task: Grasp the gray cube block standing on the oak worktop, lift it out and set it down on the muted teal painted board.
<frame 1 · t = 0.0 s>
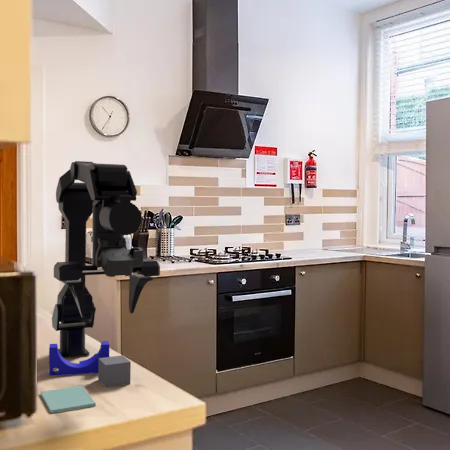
hand: (107, 315, 103), 15 cm above the counter, fingers open, 9 cm apart
blue arched bracket: (79, 372, 116), on the counter
teal board: (67, 399, 99), on the counter
gray cube block: (114, 382, 110), on the counter
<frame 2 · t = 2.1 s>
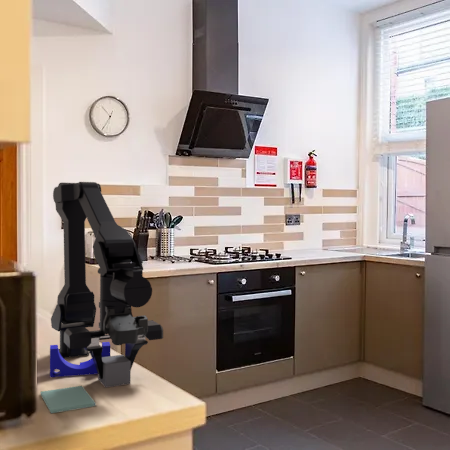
hand: (114, 376, 110), 1 cm above the counter, fingers closed on gray cube block, 5 cm apart
gray cube block: (114, 381, 110), on the counter, touching gripper
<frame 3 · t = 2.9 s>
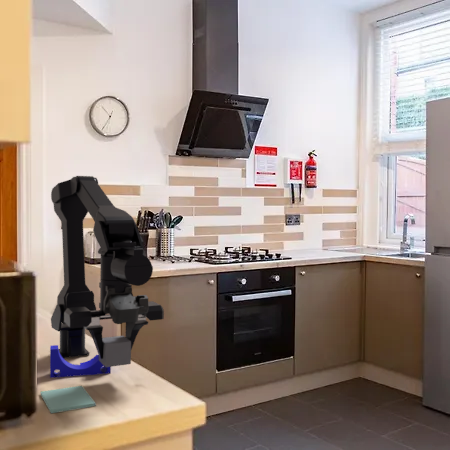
hand: (114, 356, 109), 5 cm above the counter, fingers closed on gray cube block, 5 cm apart
gray cube block: (114, 362, 109), point 4 cm above the counter, touching gripper
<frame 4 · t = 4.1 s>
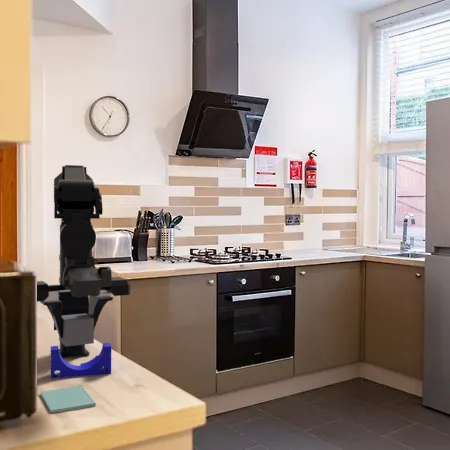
hand: (76, 336, 100), 11 cm above the counter, fingers closed on gray cube block, 5 cm apart
gray cube block: (76, 341, 100), point 10 cm above the counter, touching gripper
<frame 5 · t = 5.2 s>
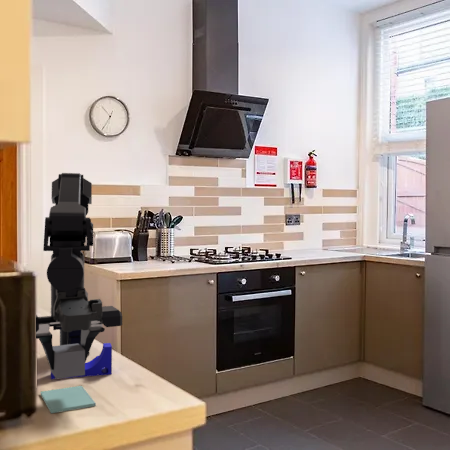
hand: (67, 367, 99), 6 cm above the counter, fingers closed on gray cube block, 5 cm apart
gray cube block: (67, 372, 99), point 5 cm above the counter, touching gripper
when the fingers open (3 cm above the counter, at t = 6.1 s): gray cube block drops 1 cm, resting on teal board.
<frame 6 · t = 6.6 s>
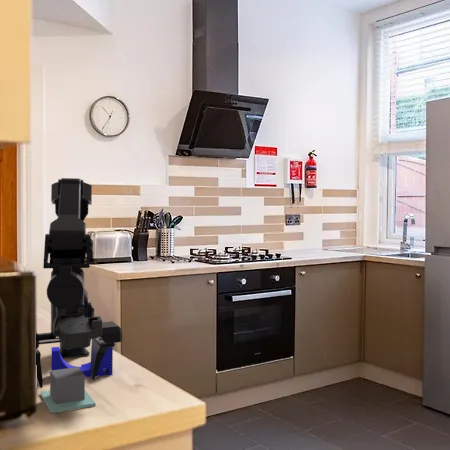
hand: (67, 383, 99), 3 cm above the counter, fingers open, 9 cm apart
gray cube block: (67, 397, 99), resting on teal board
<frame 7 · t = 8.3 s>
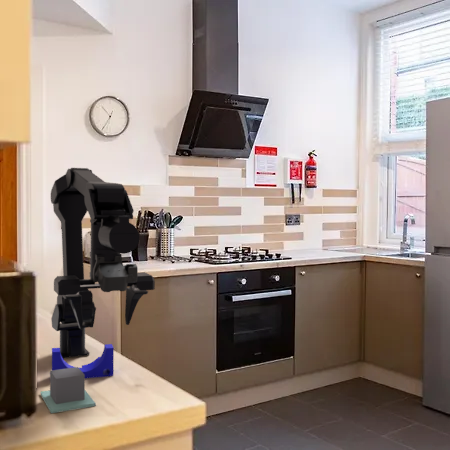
hand: (104, 326, 109), 11 cm above the counter, fingers open, 9 cm apart
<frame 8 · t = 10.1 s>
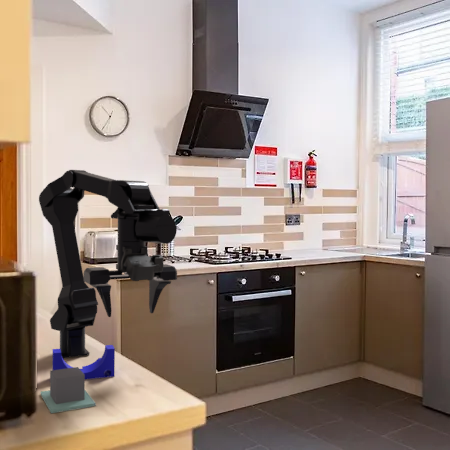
hand: (130, 314, 116), 12 cm above the counter, fingers open, 9 cm apart
at the end: gray cube block inside the target area on the teal board (0.0 cm from its centre), point 0.5 cm above the teal board's base; gray cube block tilted 0°; the gripper is holding nothing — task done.
